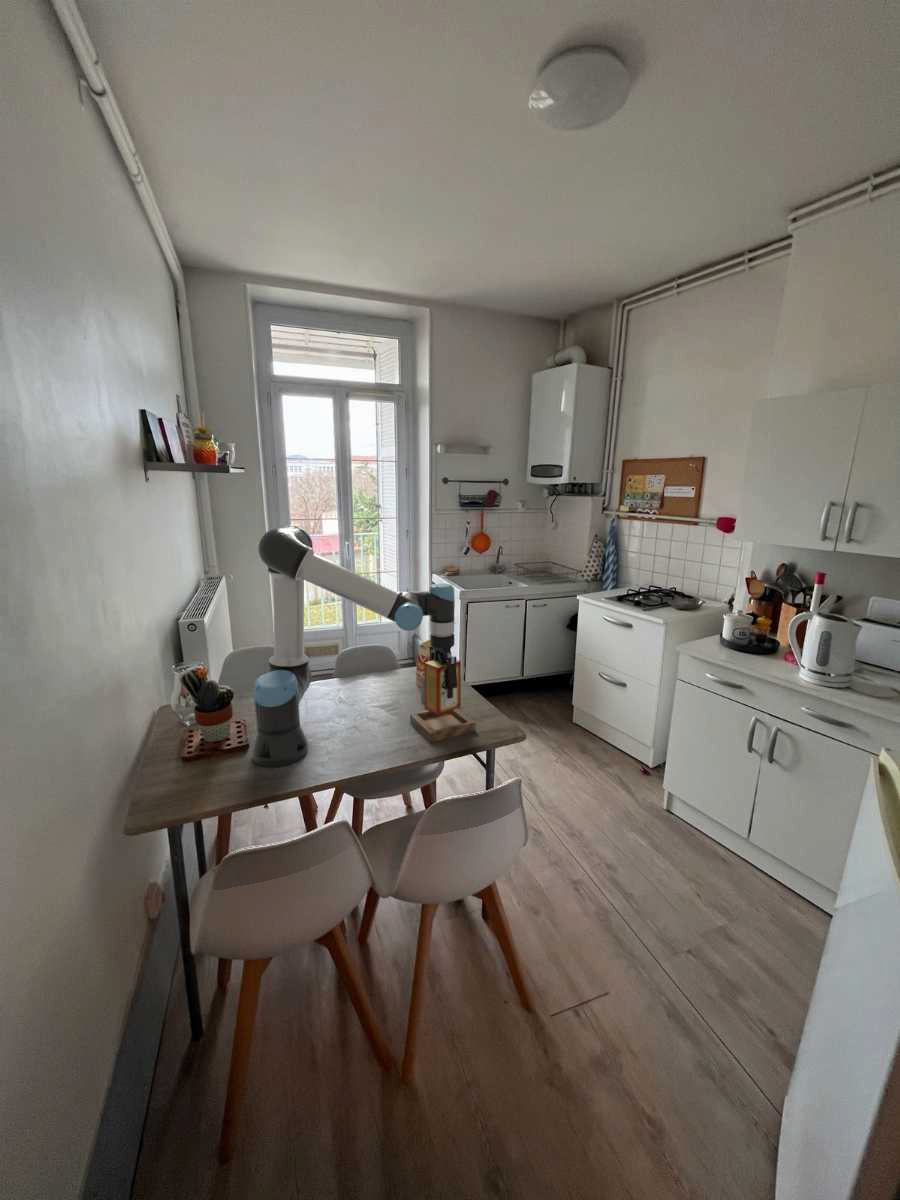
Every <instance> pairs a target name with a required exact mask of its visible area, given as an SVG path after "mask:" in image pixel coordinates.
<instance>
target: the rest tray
mask: <svg viewBox="0 0 900 1200" xmlns="http://www.w3.org/2000/svg"><path fill="white" fill-rule="evenodd" d="M409 721H410V722H409V723H410V724H411V725H412V726H413V727H414V728H415V729H416V730H417V731H418V732H419V733H420V735H422V736H423V737H424V738H425V739H426V740H427V741H428V742H429V743H431V744H432V743H435V742H440V741H443V740H446V739H450V738H454V737H458V736H461V735H465V734H468V733H472V732H476V721H475V720H473V719H472V718H471V717H470V716H468V715H467V714H465V713H464V712H463V711H462V710H460V709H459V708H457V709H454V710H451V711H449V712H446V713H444V714H441V715H439V716H437V715H436V714H434V713H432V712H430V711H428V710H426V709H425V710H422V711H419V712H414V713H411V714H409Z"/></svg>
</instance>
